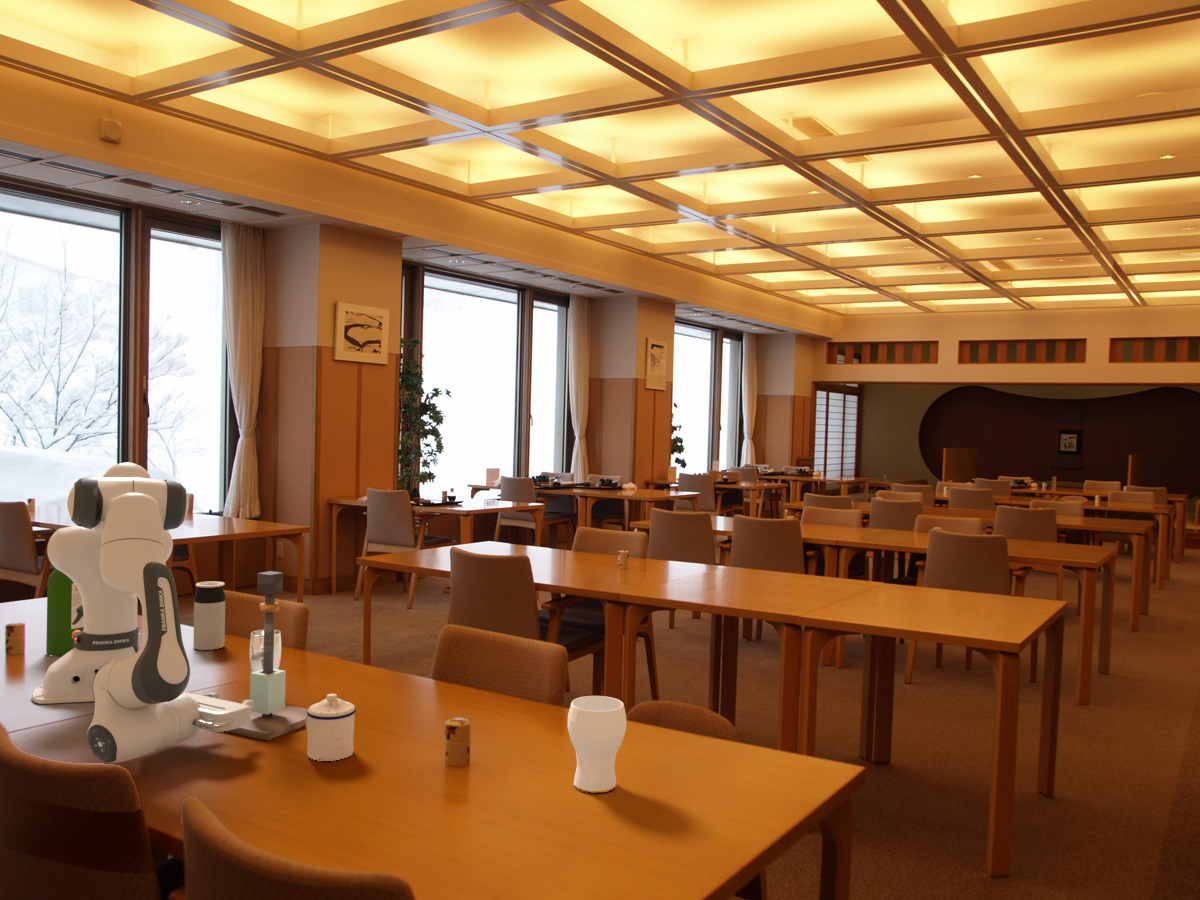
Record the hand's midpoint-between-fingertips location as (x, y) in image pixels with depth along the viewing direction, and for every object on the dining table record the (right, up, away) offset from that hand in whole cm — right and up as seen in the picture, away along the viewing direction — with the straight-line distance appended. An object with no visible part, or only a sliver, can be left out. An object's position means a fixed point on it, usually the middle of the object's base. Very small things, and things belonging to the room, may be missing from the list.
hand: (233, 700), depth 186 cm
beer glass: (-4, -7, +27) cm, 28 cm away
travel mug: (-35, -5, +70) cm, 79 cm away
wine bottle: (-69, -4, +61) cm, 92 cm away
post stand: (+4, -7, +8) cm, 12 cm away
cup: (+73, -10, -20) cm, 77 cm away
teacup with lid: (+21, -8, -8) cm, 24 cm away
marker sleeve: (+4, -4, +8) cm, 10 cm away
